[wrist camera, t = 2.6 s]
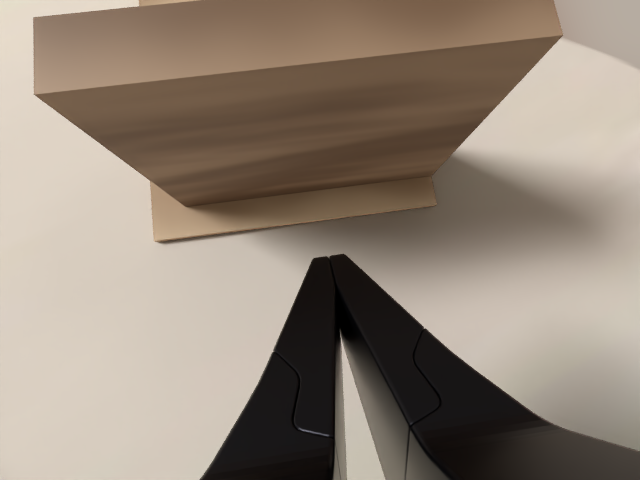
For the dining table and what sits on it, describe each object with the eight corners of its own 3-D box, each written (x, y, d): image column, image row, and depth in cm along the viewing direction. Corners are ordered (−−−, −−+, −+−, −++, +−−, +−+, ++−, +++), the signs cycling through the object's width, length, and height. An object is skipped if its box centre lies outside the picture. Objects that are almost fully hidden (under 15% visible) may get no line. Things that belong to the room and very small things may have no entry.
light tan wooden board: (434, 205, 22) (436, 204, 22) (156, 242, 22) (153, 241, 21) (386, -43, 25) (387, -48, 25) (140, -18, 25) (137, -23, 24)
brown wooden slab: (431, 176, 22) (563, 35, 11) (185, 207, 22) (33, 94, 10) (423, 137, 23) (542, -39, 11) (182, 167, 22) (33, 13, 10)
